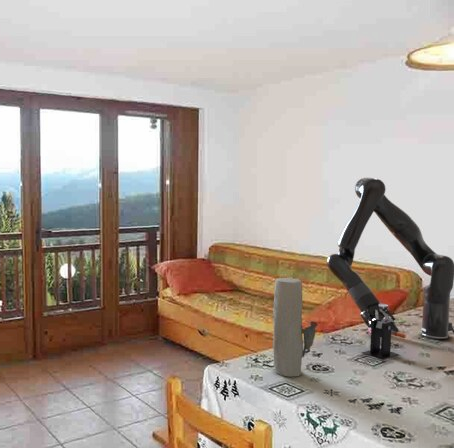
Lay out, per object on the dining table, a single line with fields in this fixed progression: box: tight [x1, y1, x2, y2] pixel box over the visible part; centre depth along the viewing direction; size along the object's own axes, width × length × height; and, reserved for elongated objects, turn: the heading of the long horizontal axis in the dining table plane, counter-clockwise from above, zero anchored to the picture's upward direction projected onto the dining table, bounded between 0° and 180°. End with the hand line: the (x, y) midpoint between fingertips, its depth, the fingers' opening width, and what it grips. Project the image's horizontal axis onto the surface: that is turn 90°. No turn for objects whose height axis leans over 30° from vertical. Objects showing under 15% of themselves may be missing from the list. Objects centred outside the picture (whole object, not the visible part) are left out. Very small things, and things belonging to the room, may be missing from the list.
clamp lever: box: [376, 321, 407, 339], centre depth 177 cm, size 12×7×2 cm, turn 124°
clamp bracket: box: [361, 319, 400, 361], centre depth 175 cm, size 10×8×13 cm
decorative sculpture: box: [272, 277, 318, 378], centre depth 158 cm, size 14×10×30 cm
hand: (390, 334), depth 182 cm, fingers open, 8 cm apart
